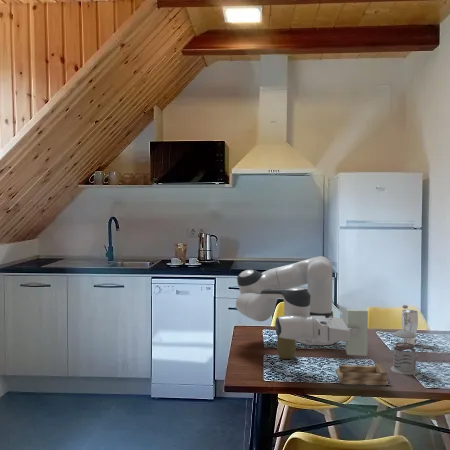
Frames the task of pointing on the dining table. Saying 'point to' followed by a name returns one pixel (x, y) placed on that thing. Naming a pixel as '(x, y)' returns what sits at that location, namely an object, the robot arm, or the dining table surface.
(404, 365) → the grey white tiered vessel
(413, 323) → the beer glass
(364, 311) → the tall white upright block
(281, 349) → the squeeze bottle
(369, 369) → the wooden tray
